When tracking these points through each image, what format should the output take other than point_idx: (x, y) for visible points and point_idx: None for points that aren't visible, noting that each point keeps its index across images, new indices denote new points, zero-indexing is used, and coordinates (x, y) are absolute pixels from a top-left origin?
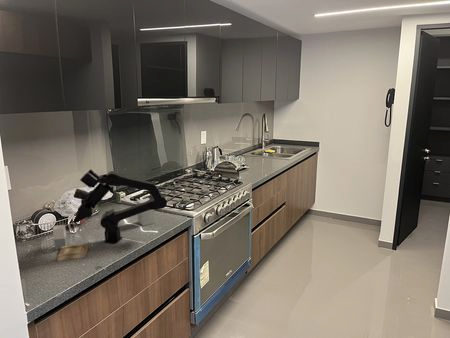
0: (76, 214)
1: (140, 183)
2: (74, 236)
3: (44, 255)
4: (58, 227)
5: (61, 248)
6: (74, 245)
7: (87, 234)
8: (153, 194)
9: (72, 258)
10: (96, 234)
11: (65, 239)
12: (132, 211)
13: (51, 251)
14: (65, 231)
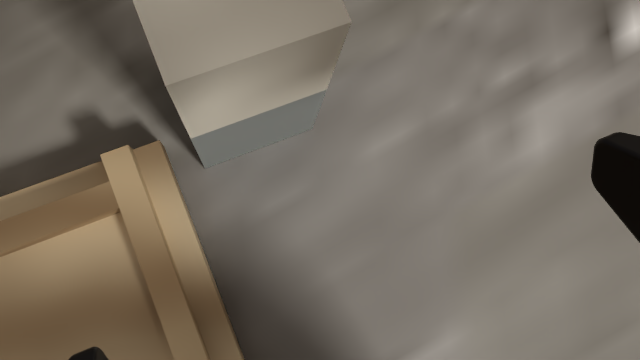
0: (617, 159)
1: None
2: (528, 96)
3: (19, 21)
4: None
5: (103, 160)
6: (170, 298)
7: (602, 224)
8: None
9: None
10: (619, 340)
11: (234, 132)
12: None
13: (122, 44)
14: (307, 78)
